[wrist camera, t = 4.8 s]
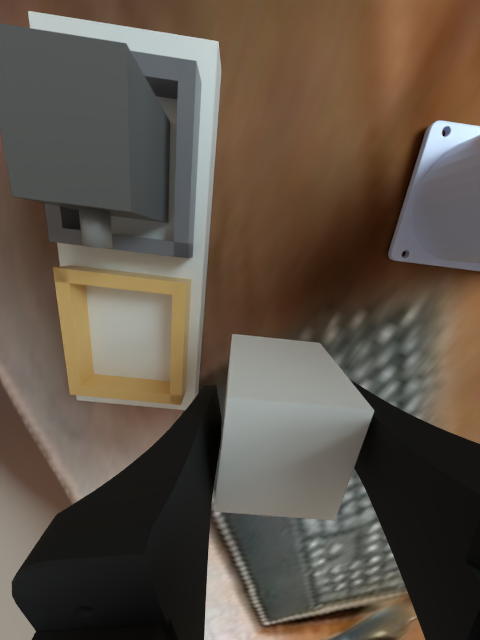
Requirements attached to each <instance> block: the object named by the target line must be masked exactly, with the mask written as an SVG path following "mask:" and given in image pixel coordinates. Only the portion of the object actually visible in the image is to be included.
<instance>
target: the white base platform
mask: <svg viewBox="0 0 480 640" xmlns="http://www.w3.org/2000/svg"><path fill="white" fill-rule="evenodd" d="M28 14H29V22H30V28H32V29H39V30H45V31H51V32H58V33H64V34H71V35H77V36H83V37H90V38H96V39H102V40H109V41H115V42H121V43H126V44H127V46H128V47H129V49H130V51H131V53H132V54H133V56H134V58H135V60H136V62H137V63H138V65H139V67H140V69H141V70H142V72H143V74H144V76H145V78H146V79H147V81H148V83H149V85H150V87H151V88H152V90H153V92H154V94H155V95H156V97H157V99H158V101H159V103H160V104H161V106H162V108H163V110H164V111H165V113H166V115H167V117H168V119H169V120H170V165H169V218H168V223H165V222H157V221H149V220H141V219H133V218H125V217H117V216H111V229H112V248H95V247H87V246H83V244H82V233H81V223H80V212H79V210H74V209H69V208H64V207H60V206H55V205H50V204H45V203H44V206H45V214H46V221H47V229H48V236H49V242H56V243H57V246H58V254H59V262H60V267H53V273H54V280H55V288H56V295H57V302H58V310H59V317H60V325H61V332H62V339H63V347H64V354H65V361H66V369H67V376H68V384H69V391H70V395H76V397H77V400H81V401H92V402H103V403H113V404H124V405H134V406H145V407H156V408H166V409H177V410H186V409H187V408H188V406H189V405H190V404H191V402H192V401H193V400H194V398H195V397H196V396H197V394H198V389H199V375H200V361H201V347H202V333H203V320H204V306H205V292H206V278H207V264H208V250H209V236H210V222H211V208H212V194H213V180H214V166H215V153H216V139H217V125H218V111H219V97H220V83H221V62H220V53H219V43H218V41H213V40H207V39H200V38H194V37H188V36H182V35H175V34H169V33H163V32H157V31H150V30H144V29H138V28H132V27H125V26H119V25H113V24H107V23H100V22H94V21H88V20H82V19H75V18H69V17H63V16H57V15H50V14H44V13H38V12H32V11H28Z"/></svg>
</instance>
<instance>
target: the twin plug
mask: <svg viewBox="0 0 480 640" xmlns="http://www.w3.org/2000/svg"><path fill="white" fill-rule="evenodd" d="M0 129H1V134H2V140H3V146H4V152H5V157H6V163H7V169H8V175H9V181H10V186H11V192H12V197H17V198H22V199H26V200H31V201H36V202H41V203H45V204H50V205H55V206H60V207H64V208H69V209H74V210H79V212H80V223H81V233H82V244H83V246H87V247H95V248H112V229H111V216H117V217H125V218H133V219H141V220H149V221H157V222H165V223H168V218H169V165H170V120H169V119H168V117H167V115H166V113H165V111H164V110H163V108H162V106H161V104H160V103H159V101H158V99H157V97H156V95H155V94H154V92H153V90H152V88H151V87H150V85H149V83H148V81H147V79H146V78H145V76H144V74H143V72H142V70H141V69H140V67H139V65H138V63H137V62H136V60H135V58H134V56H133V54H132V53H131V51H130V49H129V47H128V46H127V44H126V43H121V42H115V41H109V40H102V39H96V38H90V37H83V36H77V35H71V34H64V33H58V32H51V31H45V30H39V29H32V28H26V27H20V26H13V25H7V24H0Z"/></svg>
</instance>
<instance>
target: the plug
mask: <svg viewBox="0 0 480 640" xmlns="http://www.w3.org/2000/svg"><path fill="white" fill-rule="evenodd" d="M373 414H374V409H373V408H372V407H371V406H370V404H369V403H368V402H367V401H366V399H365V398H364V397H363V396H362V394H361V393H360V392H359V391H358V390H357V388H356V387H355V386H354V385H353V383H352V382H351V381H350V380H349V378H348V377H347V376H346V375H345V373H344V372H343V371H342V370H341V368H340V367H339V366H338V365H337V364H336V362H335V361H334V360H333V359H332V357H331V356H330V355H329V354H328V352H327V351H326V350H325V349H324V347H323V346H322V345H321V344H320V343H316V342H307V341H297V340H287V339H277V338H268V337H258V336H248V335H238V334H232V340H231V349H230V358H229V368H228V377H227V386H226V396H225V405H224V414H223V425H222V435H221V446H220V456H219V467H218V478H217V488H216V499H215V509H214V512H226V513H240V514H253V515H260V516H262V517H272V516H281V517H294V518H308V519H321V520H335V519H336V516H337V513H338V511H339V508H340V505H341V502H342V499H343V497H344V494H345V491H346V488H347V486H348V483H349V480H350V477H351V475H352V472H353V469H354V466H355V463H356V461H357V458H358V455H359V452H360V450H361V447H362V444H363V441H364V439H365V436H366V433H367V430H368V427H369V425H370V422H371V419H372V416H373Z"/></svg>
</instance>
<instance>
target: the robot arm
mask: <svg viewBox="0 0 480 640" xmlns="http://www.w3.org/2000/svg"><path fill="white" fill-rule="evenodd" d="M442 130H444V131H445V136H442ZM403 251H405V252H406V254H405V256H404V257H402V253H403ZM388 257H389V258H390V259H391V260H394V261H402V262H410V263H418V264H426V265H434V266H442V267H450V268H458V269H466V270H474V271H480V126H474V125H468V124H461V123H455V122H448V121H441V120H440V121H436V122H434V123H433V124H431V125H430V126H429V127H428V128H427V130H426V132H425V135H424V138H423V142H422V145H421V148H420V151H419V155H418V158H417V161H416V164H415V168H414V171H413V174H412V177H411V181H410V184H409V187H408V190H407V193H406V197H405V200H404V203H403V206H402V210H401V213H400V216H399V219H398V223H397V226H396V229H395V232H394V236H393V239H392V242H391V245H390V249H389V252H388ZM349 380H350V379H349ZM350 381H351V380H350ZM351 382H352V383H353V385H354V386H355V387H356V388H357V390H358V391H359V392H360V393H361V394H362V396H363V397H364V398H365V399H366V401H367V402H368V403H369V404H370V406H371V407H372V408H373V409H374V414H373V416H372V419H371V422H370V425H369V427H368V430H367V433H366V436H365V439H364V441H363V444H362V447H361V450H360V452H359V455H358V458H357V461H356V463H355V466H354V468H355V470H356V472H357V474H358V476H359V477H360V479H361V481H362V483H363V485H364V487H365V489H366V491H367V494H368V496H369V498H370V501H371V503H372V505H373V508H374V510H375V512H376V514H377V517H378V519H379V521H380V524H381V526H382V529H383V531H384V534H385V536H386V538H387V541H388V543H389V546H390V548H391V550H392V553H393V555H394V558H395V561H396V563H397V566H398V568H399V571H400V573H401V576H402V578H403V581H404V583H405V586H406V588H407V591H408V594H409V596H410V599H411V602H412V604H413V607H414V610H415V612H416V615H417V618H418V621H419V623H420V626H421V629H422V631H423V634H424V637H425V639H426V640H480V444H478V443H475V442H473V441H470V440H467V439H465V438H462V437H460V436H457V435H455V434H452V433H450V432H447V431H445V430H443V429H440V428H438V427H436V426H433V425H431V424H429V423H427V422H425V421H423V420H420V419H418V418H416V417H414V416H412V415H410V414H408V413H406V412H404V411H402V410H400V409H399V408H397V407H395V406H393V405H391V404H389V403H388V402H386V401H384V400H382V399H381V398H379V397H377V396H376V395H374V394H372V393H371V392H369V391H367V390H366V389H364V388H362V387H361V386H359V385H358V384H356V383H354V382H353V381H351ZM221 423H222V418H221V412H220V406H219V399H218V393H217V386H216V385H210V386H204V387H203V388H202V389H201V390H200V392H199V393H198V394H197V396H196V397H195V398H194V400H193V401H192V402H191V404H190V405H189V406H188V408H187V409H186V410H185V411H184V413H183V414H182V415H181V416H180V417H179V419H178V420H177V421H176V422H175V423H174V424H173V425H172V427H171V428H170V429H169V430H168V431H167V432H166V433H165V434H164V435H163V436H162V437H161V438H160V439H159V440H158V441H157V442H156V443H155V444H154V445H153V446H152V447H151V448H149V449H148V450H147V451H146V452H145V453H144V454H142V455H141V456H140V457H139V458H138V459H136V460H135V461H134V462H133V463H132V464H130V465H129V466H128V467H127V468H125V469H124V470H123V471H121V472H120V473H119V474H117V475H116V476H115V477H113V478H112V479H111V480H109V481H108V482H106V483H105V484H104V485H102V486H101V487H99V488H98V489H96V490H95V491H93V492H92V493H90V494H89V495H87V496H85V497H84V498H82V499H81V500H79V501H78V502H76V503H74V504H73V505H71V506H70V507H68V508H67V509H65V510H63V511H62V512H60V513H58V514H57V515H56V516H55V518H54V519H53V520H52V522H51V523H50V525H49V526H48V528H47V529H46V530H45V532H44V534H43V535H42V536H41V538H40V540H39V541H38V542H37V544H36V545H35V547H34V548H33V550H32V551H31V553H30V554H29V556H28V557H27V559H26V560H25V562H24V563H23V565H22V566H21V568H20V569H19V570H18V572H17V573H16V575H15V577H14V579H13V581H12V596H13V598H14V600H15V602H16V604H17V605H18V607H19V608H20V610H21V611H22V612H23V614H24V615H25V617H26V618H27V619H28V621H29V622H30V623H31V624H32V626H33V627H34V628H35V630H36V633H35V634H34V637H33V638H32V640H204V626H205V602H206V583H207V563H208V547H209V530H210V516H211V502H212V494H213V487H214V480H215V474H216V468H217V461H218V455H219V448H220V442H221Z"/></svg>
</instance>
